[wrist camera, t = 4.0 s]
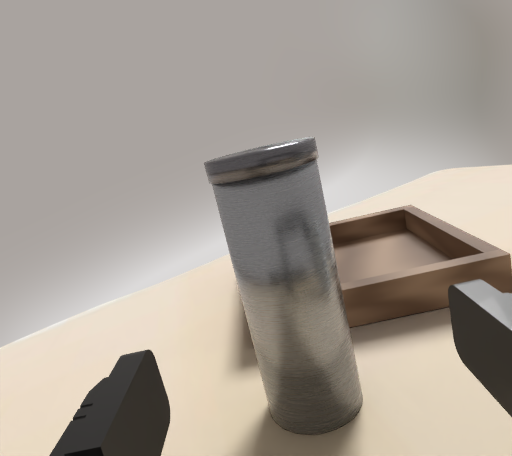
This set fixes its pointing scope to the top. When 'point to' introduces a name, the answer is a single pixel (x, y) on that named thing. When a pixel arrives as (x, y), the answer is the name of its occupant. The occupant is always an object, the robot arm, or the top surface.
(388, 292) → the walnut tray
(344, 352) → the steel canister
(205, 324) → the top surface
